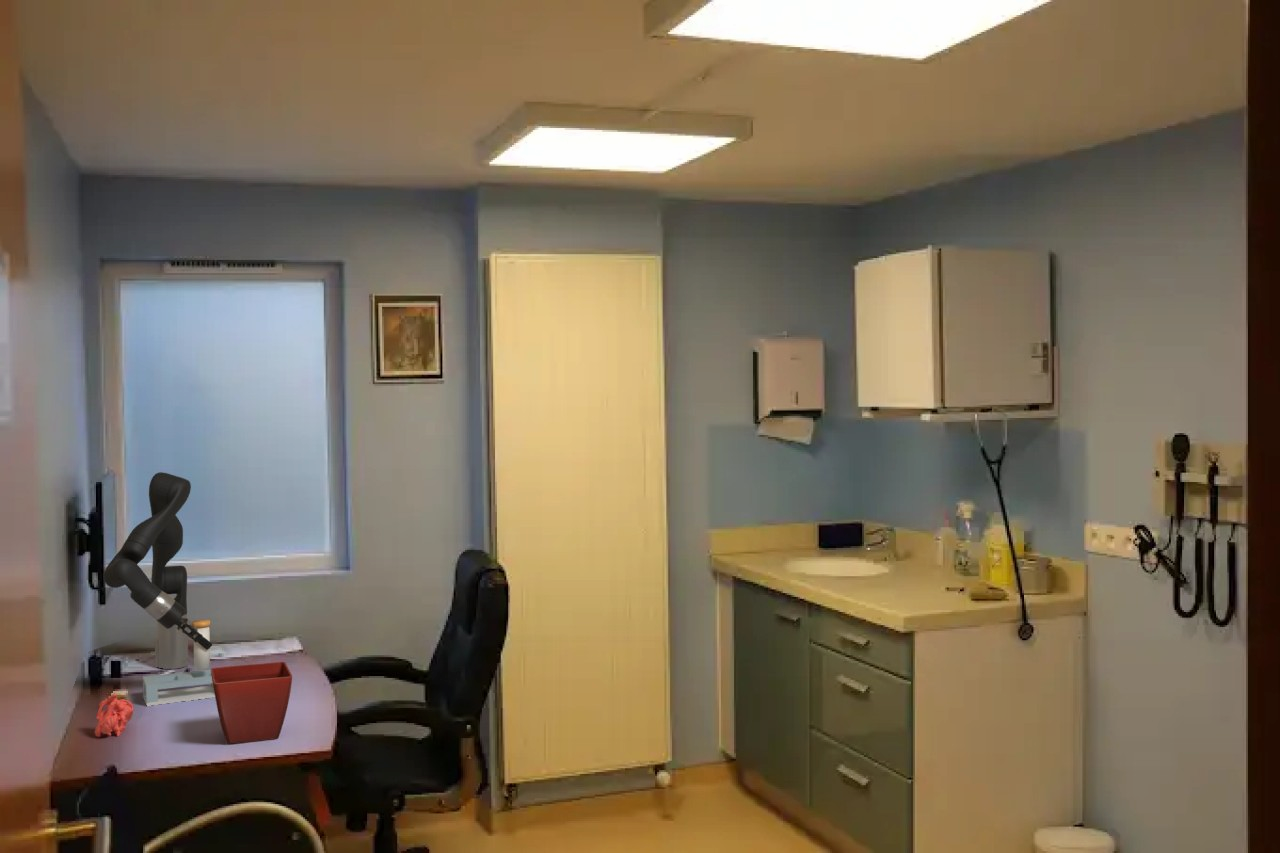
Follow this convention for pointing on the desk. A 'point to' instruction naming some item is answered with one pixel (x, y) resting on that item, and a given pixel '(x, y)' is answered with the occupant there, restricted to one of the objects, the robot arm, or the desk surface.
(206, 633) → the orange ball-topped peg
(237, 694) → the plant pot
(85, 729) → the desk surface
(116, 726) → the anatomical heart
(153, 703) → the grey hollow block
